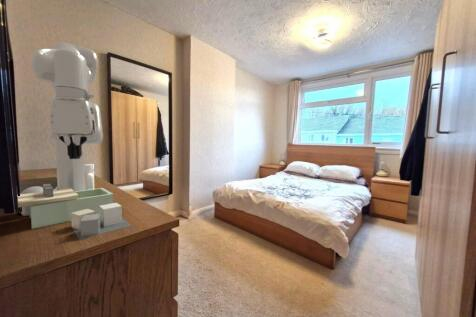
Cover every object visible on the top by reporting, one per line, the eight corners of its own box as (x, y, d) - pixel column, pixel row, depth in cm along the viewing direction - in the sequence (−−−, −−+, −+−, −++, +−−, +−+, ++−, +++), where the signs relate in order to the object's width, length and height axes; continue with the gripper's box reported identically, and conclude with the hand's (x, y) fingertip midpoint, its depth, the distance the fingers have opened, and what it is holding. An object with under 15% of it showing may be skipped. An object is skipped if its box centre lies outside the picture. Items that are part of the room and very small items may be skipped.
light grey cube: (84, 229, 55) (84, 215, 55) (100, 227, 56) (100, 213, 56) (81, 236, 51) (80, 221, 51) (98, 234, 53) (97, 219, 52)
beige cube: (71, 226, 57) (71, 212, 56) (87, 221, 60) (87, 208, 60) (79, 230, 55) (78, 215, 54) (95, 224, 58) (95, 211, 58)
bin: (29, 218, 63) (28, 197, 62) (103, 204, 77) (102, 187, 77) (32, 230, 55) (30, 206, 54) (113, 212, 69) (113, 193, 69)
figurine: (78, 207, 74) (77, 165, 73) (79, 200, 82) (77, 163, 80) (102, 203, 78) (101, 164, 77) (101, 197, 86) (100, 162, 85)
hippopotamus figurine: (71, 209, 72) (70, 184, 71) (19, 219, 62) (17, 190, 61) (67, 204, 76) (66, 181, 76) (18, 213, 67) (16, 186, 66)
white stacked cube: (99, 222, 60) (99, 205, 60) (116, 218, 63) (116, 202, 63) (104, 227, 57) (103, 209, 57) (121, 222, 60) (121, 205, 60)
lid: (17, 197, 61) (17, 185, 61) (71, 191, 70) (70, 180, 70) (18, 207, 52) (17, 193, 52) (78, 198, 62) (78, 186, 61)
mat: (70, 226, 58) (70, 225, 58) (117, 215, 66) (117, 214, 66) (79, 241, 50) (79, 239, 49) (132, 226, 58) (132, 225, 58)
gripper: (105, 101, 66) (107, 157, 67) (47, 97, 61) (51, 158, 63) (97, 95, 59) (100, 159, 60) (32, 91, 54) (36, 160, 55)
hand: (75, 158), depth 61 cm, fingers closed
